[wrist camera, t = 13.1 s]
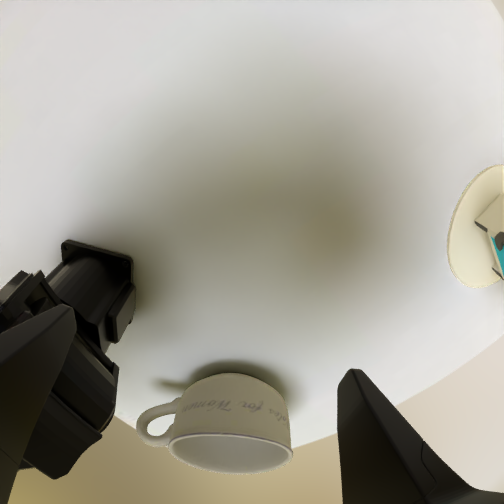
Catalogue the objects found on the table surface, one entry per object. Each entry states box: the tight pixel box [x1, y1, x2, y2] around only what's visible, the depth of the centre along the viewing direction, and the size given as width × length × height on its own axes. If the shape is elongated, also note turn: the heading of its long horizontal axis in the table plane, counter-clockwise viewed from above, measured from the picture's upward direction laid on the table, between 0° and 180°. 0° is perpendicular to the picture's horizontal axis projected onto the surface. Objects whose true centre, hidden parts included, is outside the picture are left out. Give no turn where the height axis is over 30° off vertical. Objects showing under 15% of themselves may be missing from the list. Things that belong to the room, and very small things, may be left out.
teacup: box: [136, 373, 293, 474], centre depth 24 cm, size 14×11×8 cm
